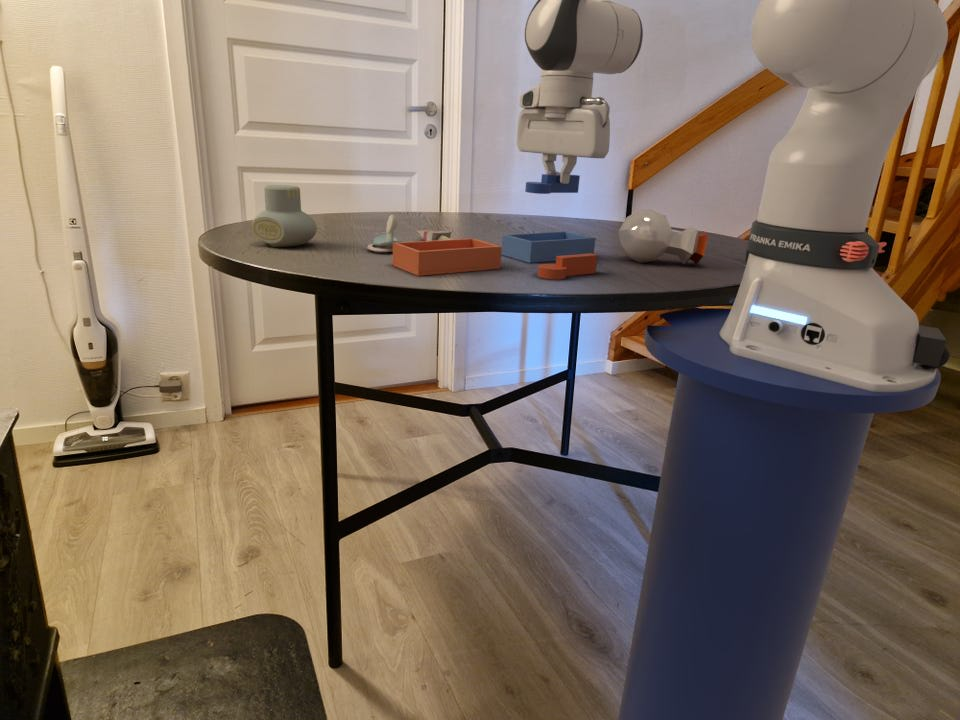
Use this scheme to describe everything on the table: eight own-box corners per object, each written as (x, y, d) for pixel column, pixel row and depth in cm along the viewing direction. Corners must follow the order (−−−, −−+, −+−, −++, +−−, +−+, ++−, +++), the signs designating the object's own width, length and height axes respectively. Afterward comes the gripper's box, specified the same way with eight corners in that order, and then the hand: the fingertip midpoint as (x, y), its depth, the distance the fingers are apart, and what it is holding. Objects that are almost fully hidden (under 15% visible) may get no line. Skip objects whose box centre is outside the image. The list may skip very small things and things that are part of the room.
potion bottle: (609, 265, 114) (689, 280, 114) (621, 241, 105) (708, 258, 104) (615, 221, 117) (694, 236, 116) (628, 194, 107) (714, 210, 107)
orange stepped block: (583, 269, 102) (585, 251, 101) (602, 275, 99) (604, 256, 98) (531, 274, 96) (533, 255, 95) (550, 280, 93) (552, 261, 92)
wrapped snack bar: (431, 222, 123) (475, 244, 107) (430, 236, 124) (474, 259, 108) (413, 222, 122) (455, 244, 105) (413, 236, 123) (454, 260, 106)
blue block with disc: (566, 191, 113) (568, 174, 112) (583, 193, 110) (585, 176, 109) (520, 191, 107) (521, 173, 106) (536, 193, 104) (537, 175, 103)
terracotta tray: (500, 268, 99) (501, 246, 98) (418, 276, 91) (418, 251, 90) (471, 259, 106) (472, 238, 104) (392, 265, 97) (392, 242, 96)
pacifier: (372, 255, 105) (406, 254, 107) (371, 218, 102) (406, 217, 105) (363, 248, 111) (395, 246, 113) (361, 212, 109) (395, 211, 111)
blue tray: (593, 257, 114) (595, 237, 112) (529, 263, 105) (531, 241, 104) (563, 249, 120) (565, 231, 119) (501, 254, 111) (502, 234, 110)
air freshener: (325, 245, 111) (323, 187, 107) (293, 251, 104) (290, 190, 100) (277, 238, 115) (274, 182, 112) (244, 243, 108) (240, 184, 104)
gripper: (624, 98, 98) (612, 188, 102) (540, 99, 113) (534, 177, 118) (595, 95, 94) (585, 188, 99) (513, 96, 110) (508, 177, 114)
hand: (556, 182), depth 109 cm, fingers closed on blue block with disc
